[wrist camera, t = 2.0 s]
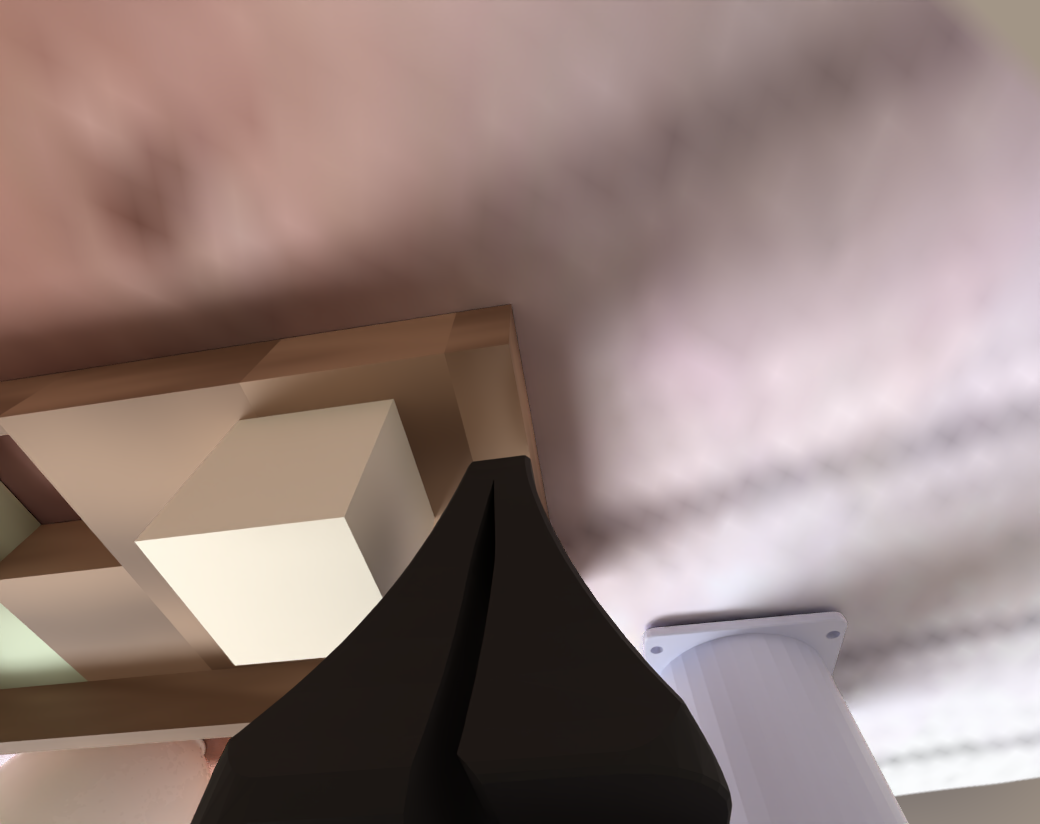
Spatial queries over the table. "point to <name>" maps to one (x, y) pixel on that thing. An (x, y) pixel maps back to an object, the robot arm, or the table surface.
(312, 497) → the cream block
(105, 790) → the lidded jar
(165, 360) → the board
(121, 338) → the table surface
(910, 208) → the table surface
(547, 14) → the table surface
